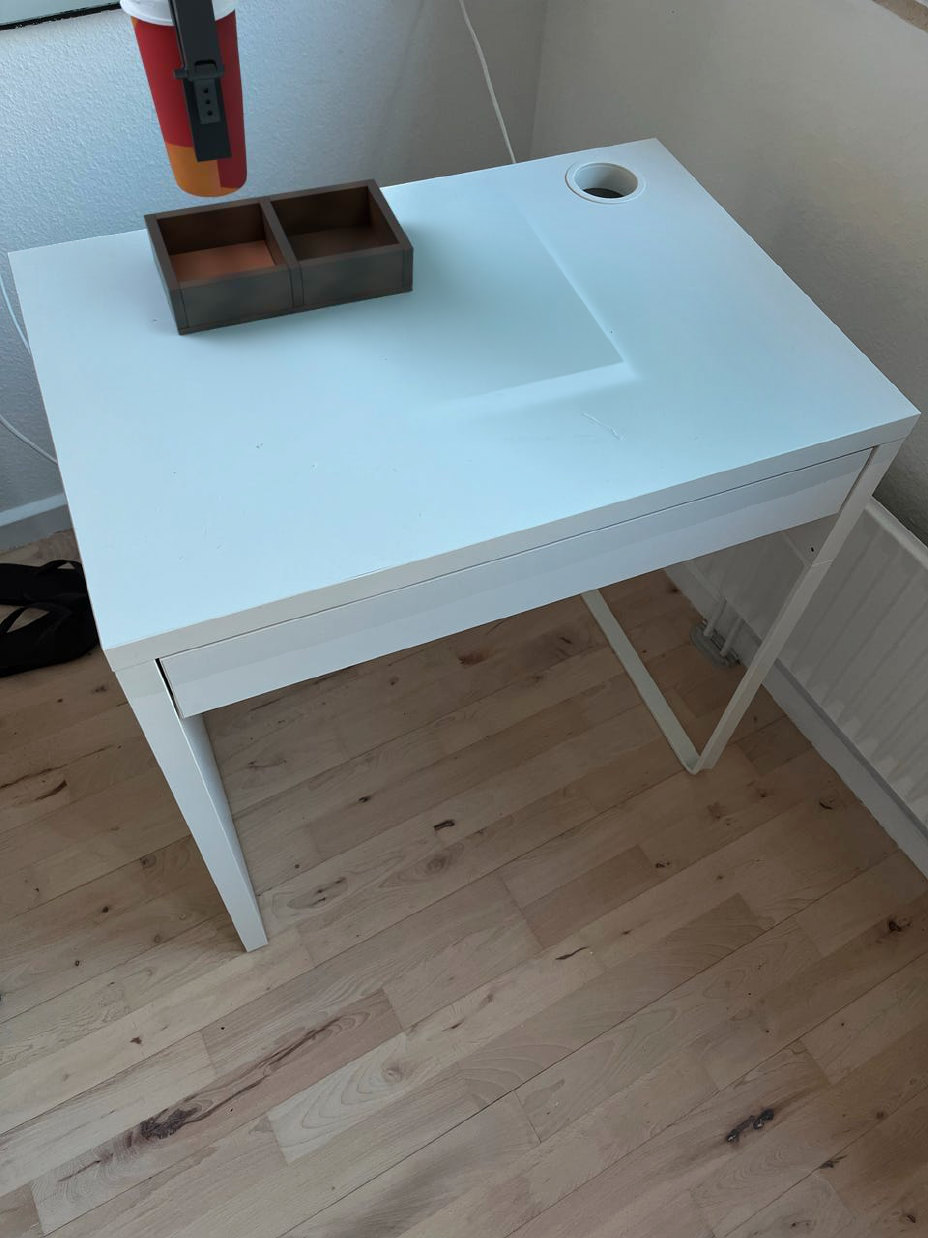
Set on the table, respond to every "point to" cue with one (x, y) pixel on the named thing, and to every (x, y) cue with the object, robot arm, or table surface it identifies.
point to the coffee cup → (159, 59)
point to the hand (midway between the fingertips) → (201, 127)
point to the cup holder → (279, 254)
